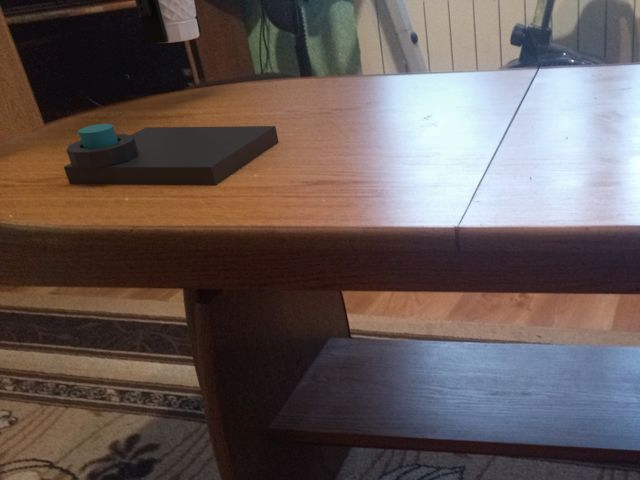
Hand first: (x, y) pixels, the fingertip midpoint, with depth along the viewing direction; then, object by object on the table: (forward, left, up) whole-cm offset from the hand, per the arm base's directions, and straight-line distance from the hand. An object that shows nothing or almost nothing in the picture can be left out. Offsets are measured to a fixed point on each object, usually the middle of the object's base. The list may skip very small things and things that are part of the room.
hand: (174, 37), depth 100 cm
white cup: (0, 0, 0) cm, 1 cm away
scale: (+16, -30, -8) cm, 35 cm away
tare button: (+11, -34, -5) cm, 36 cm away
